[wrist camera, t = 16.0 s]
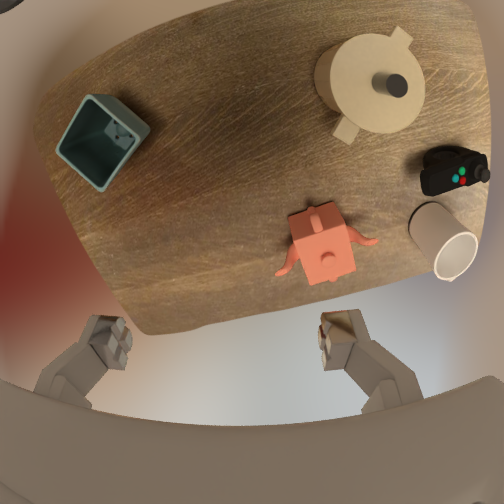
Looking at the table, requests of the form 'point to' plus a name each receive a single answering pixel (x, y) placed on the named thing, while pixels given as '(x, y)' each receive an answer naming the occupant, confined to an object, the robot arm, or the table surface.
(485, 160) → the controller
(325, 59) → the pot
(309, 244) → the teapot
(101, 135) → the flower pot
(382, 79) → the lid
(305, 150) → the table surface
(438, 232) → the mug
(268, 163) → the table surface
